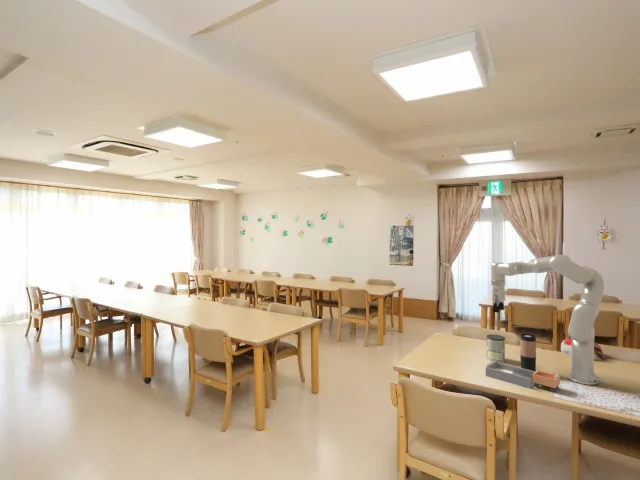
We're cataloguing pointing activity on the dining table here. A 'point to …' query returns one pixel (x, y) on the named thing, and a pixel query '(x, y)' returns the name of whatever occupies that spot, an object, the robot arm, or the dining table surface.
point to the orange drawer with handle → (546, 379)
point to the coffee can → (496, 348)
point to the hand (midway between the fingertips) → (498, 310)
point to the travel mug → (528, 352)
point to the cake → (567, 349)
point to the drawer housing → (510, 374)
